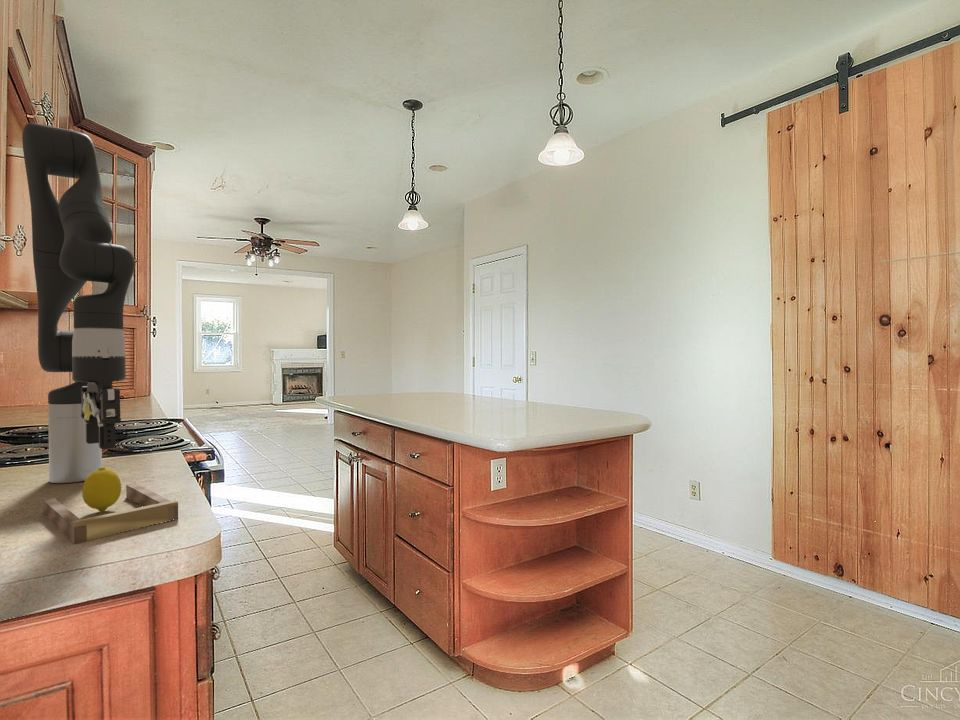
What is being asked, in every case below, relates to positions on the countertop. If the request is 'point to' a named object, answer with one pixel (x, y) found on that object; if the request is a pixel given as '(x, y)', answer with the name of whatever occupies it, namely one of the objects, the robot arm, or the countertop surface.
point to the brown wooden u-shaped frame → (112, 516)
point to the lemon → (101, 489)
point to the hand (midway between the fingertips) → (100, 445)
